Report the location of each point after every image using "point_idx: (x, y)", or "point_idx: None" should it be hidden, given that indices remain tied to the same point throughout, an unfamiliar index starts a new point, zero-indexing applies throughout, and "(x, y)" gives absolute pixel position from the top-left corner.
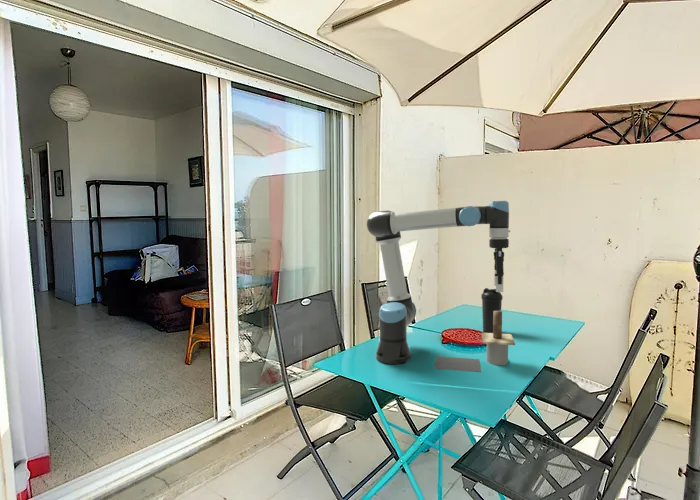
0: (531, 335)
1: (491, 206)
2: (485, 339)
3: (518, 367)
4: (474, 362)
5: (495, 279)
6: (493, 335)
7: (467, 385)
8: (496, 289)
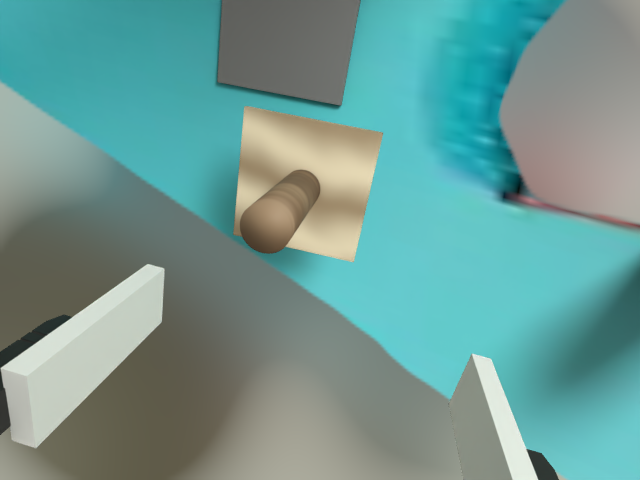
0: (609, 385)
1: None
2: (273, 125)
3: None
4: (306, 77)
5: (485, 417)
6: (296, 171)
7: (121, 10)
8: (132, 278)
